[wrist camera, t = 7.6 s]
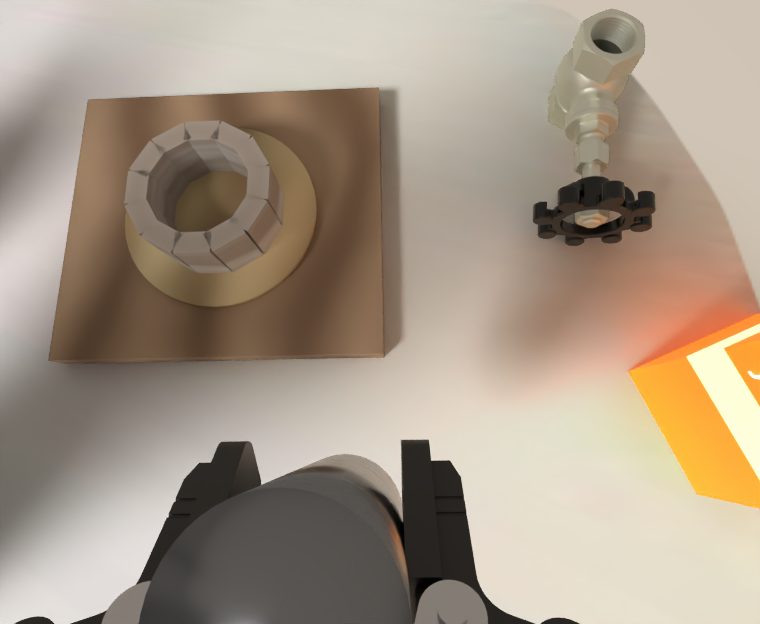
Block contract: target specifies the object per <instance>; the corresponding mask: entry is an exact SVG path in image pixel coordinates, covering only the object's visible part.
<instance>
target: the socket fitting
mask: <svg viewBox="0 0 760 624" xmlns="http://www.w3.org/2000/svg"><path fill="white" fill-rule="evenodd" d="M364 357H384V330H383V270H382V211H381V151H380V99H379V88H357V89H333V90H309V91H284V92H260V93H236V94H212V95H187V96H163V97H139V98H115V99H90V100H88V103H87V110H86V117H85V123H84V130H83V136H82V143H81V150H80V156H79V163H78V169H77V176H76V182H75V189H74V196H73V202H72V209H71V215H70V222H69V229H68V235H67V242H66V248H65V255H64V261H63V268H62V275H61V281H60V288H59V294H58V301H57V308H56V314H55V321H54V327H53V334H52V341H51V347H50V354H49V361H55V362H60V363H65V364H71V363H120V362H168V361H217V360H266V359H315V358H364Z"/></svg>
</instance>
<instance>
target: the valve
mask: <svg viewBox="0 0 760 624" xmlns="http://www.w3.org/2000/svg"><path fill="white" fill-rule="evenodd" d="M644 48H645V33H644V27H643V24H642V23H641V22H640V21H639V20H637V19H636V18H634V17H633V16H631V15H629V14H627V13H625V12H622V11H619V10H615V9H610V10H606V11H603V12H600V13H598V14H596V15H594V16H591V17H590V18H588V19H586V20H584V21H583V22H582V24H581V26H580V29H579V31H578V33H577V35H576V38H575V40H574V42H573V48H572V49H571V50H570V51H569V52H568V53H567V54H566V55H565V56H564V58H563V59H562V61H561V63H560V65H559V67H558V69H557V72H556V76H555V84H554V86H553V89H552V91H551V93H550V95H549V99H548V122H550V123H551V124H553V125H555V126H557V127H558V128H560V129H562V130H564V131H565V135H566V136H567V138H569V139H570V140H572V141H574V142H576V143H577V144H579V145H578V147H577V149H576V150H575V152H574V171H575V172H577V173H579V174H581V175H582V179H580V180H578V181H577V182H573V183H571V184H569V185H567V186H565V187H562V188H560V189H559V190H558V206H557V207H555V208H554V209H553V210H551V209H547V202H538V203H536V204H535V205H534V206H533V222H534V223H535V224H538V237H540V238H543V239H550V238H553V237H555V236H556V235H564V236H565V244H567V245H569V246H578V245H581V244H583V243H584V239H587V238H601V240H602V242H604V243H609V244H611V243H617V242H619V241H621V240H622V231H623V230H628V229H630V230H631V231H634V232H643V231H647V230H649V229H651V228H652V213H654V212H655V194H654V193H653V192H651V191H640V192H638V200H636V201H635V198H634V194H633V192H632V191H631V190H630V189H629V188H628V187H626V186H624V183H623V182H621V181H609V180H608V179H607V178H605V177H601V173H602V172H603V171H605V169H606V168H607V167H608V165H609V145H608V144H606V143H604V141H605V139H606V138H607V137H609V136H610V135H612V134H613V133H614V132H615V131H616V129H617V128H618V124H619V117H618V107H617V105H616V104H615V103H614V102H615V101H616V100H617V98H618V97H619V96H620V95H621V93H622V92H623V90H624V88H625V86H626V84H627V81H628V77H629V73H631V72H632V71H633V69H634V68H635V66H636V64H637V63H638V61H639V59H640V58H641V57H642V55H643V54H644ZM609 210H610V211H615V212H618V213H620V214H622V215H621V216H620V217H619V218H617V219H615V220H613V221H611V222H608V223H605V222H606V221H607V220H608V218H609ZM573 213H575V214H574V224H570V223H567V222H565V221H564V220H563V219H564V218H565V217H567V216H568V215H571V214H573Z"/></svg>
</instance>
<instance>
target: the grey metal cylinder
mask: <svg viewBox="0 0 760 624" xmlns="http://www.w3.org/2000/svg"><path fill="white" fill-rule="evenodd" d="M139 624H412V616H411V604H410V591H409V579H408V569H407V563H406V557H405V547H404V532H403V509H402V501H401V498H400V495H399V492H398V490H397V488H396V485H395V484H394V482H393V481H392V479H391V477H390V476H389V475H388V474H387V473H386V472H385V471H384V470H383V469H382V468H381V467H380V466H378V465H377V464H376V463H374V462H372V461H370V460H368V459H366V458H363V457H360V456H356V455H349V454H342V455H334V456H330V457H327V458H324V459H322V460H319V461H317V462H315V463H312V464H310V465H308V466H305V467H303V468H300V469H298V470H296V471H293V472H291V473H289V474H286V475H284V476H281V477H279V478H277V479H274V480H272V481H270V482H267V483H265V484H262V485H260V486H258V487H255V488H253V489H251V490H248V491H246V492H244V493H241V494H239V495H236V496H234V497H232V498H229V499H227V500H226V501H224V502H222V503H220V504H218V505H216V506H214V507H213V508H211V509H210V510H208V511H207V512H205V513H204V514H202V515H201V516H200V517H198V518H197V519H196V520H195V521H194V522H193V523H192V524H191V525H189V526H188V527H187V528H186V529H185V530H184V531H183V532H182V534H181V535H180V536H179V537H178V538H177V539H176V540H175V542H174V543H173V544H172V545H171V547H170V548H169V550H168V551H167V553H166V554H165V556H164V557H163V558H162V560H161V562H160V564H159V566H158V568H157V570H156V571H155V573H154V575H153V577H152V580H151V582H150V585H149V587H148V590H147V592H146V595H145V599H144V602H143V606H142V610H141V613H140V619H139Z"/></svg>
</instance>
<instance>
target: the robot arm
mask: <svg viewBox="0 0 760 624" xmlns="http://www.w3.org/2000/svg"><path fill="white" fill-rule="evenodd" d="M401 459H402V509H403V532H404V547H405V557H406V563H407V569H408V579H409V591H410V604H411V616H412V624H534V623H532V622H529V621H526V620H523V619H520V618H518V617H515V616H512V615H510V614H507V613H505V612H503V611H502V610H500V609H499V608H497V607H496V606H495V605H494V604H492V602H491V601H490V600H489V599H488V598H487V597H486V596H485V594H484V593H483V591H482V589H481V587H480V585H479V583H478V580H477V576H476V570H475V564H474V557H473V551H472V545H471V539H470V532H469V526H468V520H467V516H466V507H465V501H464V495H463V489H462V482H461V477H460V475H459V474H458V472H457V471H456V469H455V468H454V466H453V465H452V463H451V462H450V461H431V456H430V446H429V440H401ZM260 485H261V479H260V475H259V471H258V467H257V463H256V459H255V454H254V450H253V446H252V444H251V442H249V441H246V442H221V443H220V444H219V445H218V447H217V450H216V452H215V454H214V457H213V459H212V462H211V463H199V464H198V465H197V466H196V467H195V468H194V469H193V470H192V471H191V473H190V474H189V475H188V476H187V477H186V478H185V479H184V481H183V483H182V485H181V488H180V490H179V492H178V494H177V496H176V501H175V502H174V503H173V505H172V508H171V510H170V512H169V517H168V518H167V519H166V521H165V523H164V526H163V528H162V530H161V532H160V534H159V537H158V539H157V541H156V543H155V546H154V548H153V550H152V552H151V555H150V557H149V559H148V561H147V564H146V566H145V568H144V570H143V572H142V575H141V577H140V579H139V580H138V582H137V584H136V585H135V586H133V587H131V588H129V589H128V590H126V591H125V592H123V593H122V594H121V595H120V596H119V597H118V598H117V599H116V600H115V601H114V602H113V603H112V604H111V606H110V607H109V609H108V610H107V611H105V612H103V613H100V614H98V615H95V616H92V617H89V618H86V619H83V620H80V621H77V622H74V623H71V624H139V619H140V613H141V610H142V606H143V602H144V599H145V595H146V592H147V590H148V587H149V585H150V582H151V580H152V577H153V575H154V573H155V571H156V570H157V568H158V566H159V564H160V562H161V560H162V558H163V557H164V556H165V554H166V553H167V551H168V550H169V548H170V547H171V545H172V544H173V543H174V542H175V540H176V539H177V538H178V537H179V536H180V535H181V534H182V532H183V531H184V530H185V529H186V528H187V527H188V526H189V525H191V524H192V523H193V522H194V521H195V520H196V519H197V518H198V517H200V516H201V515H202V514H204V513H205V512H207V511H208V510H210V509H211V508H213V507H214V506H216V505H218V504H220V503H222V502H224V501H226V500H227V499H229V498H232V497H234V496H236V495H239V494H241V493H244V492H246V491H248V490H251V489H253V488H255V487H258V486H260ZM15 624H54V623H53V622H52V621H51V620H50V619H48V618H45V617H31V618H27V619H24V620H21V621H19V622H17V623H15ZM541 624H579V623H577V622H575V621H572V620H569V619H566V618H551V619H548V620H546V621H544V622H542V623H541Z"/></svg>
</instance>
